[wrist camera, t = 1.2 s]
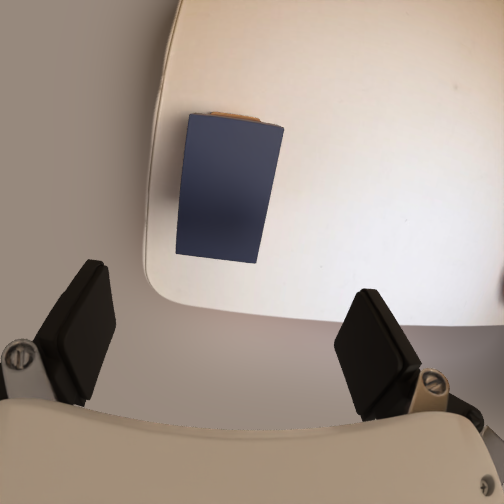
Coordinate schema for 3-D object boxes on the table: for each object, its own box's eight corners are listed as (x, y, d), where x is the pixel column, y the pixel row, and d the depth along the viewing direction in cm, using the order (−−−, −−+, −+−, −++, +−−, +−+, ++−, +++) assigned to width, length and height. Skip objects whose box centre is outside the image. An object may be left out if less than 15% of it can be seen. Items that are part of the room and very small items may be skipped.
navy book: (253, 248, 24) (256, 264, 21) (180, 239, 23) (175, 254, 21) (278, 125, 19) (284, 127, 17) (194, 112, 18) (189, 113, 16)
